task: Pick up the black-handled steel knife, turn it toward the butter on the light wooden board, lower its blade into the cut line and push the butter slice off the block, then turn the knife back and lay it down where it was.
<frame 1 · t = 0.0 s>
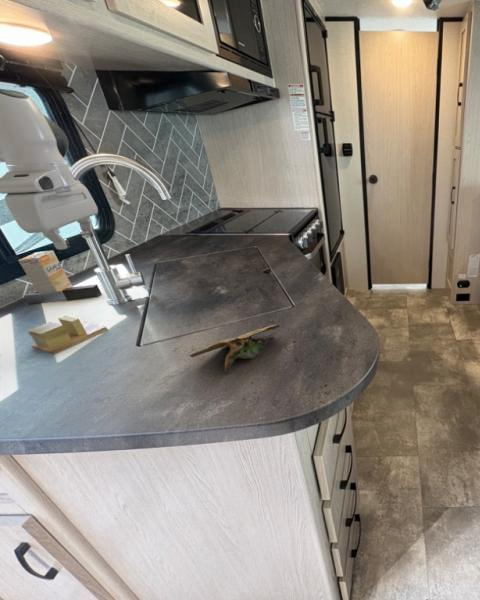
hand: (77, 242, 72), 22 cm above the countertop, tool pointing down, fingers open, 8 cm apart
knife: (69, 299, 97), on the countertop
butter board: (71, 338, 76), on the countertop
supplement box: (58, 294, 101), on the countertop
butter slice: (76, 332, 77), point 1 cm above the countertop, touching butter board
dried leafy seed pod: (240, 357, 69), on the countertop
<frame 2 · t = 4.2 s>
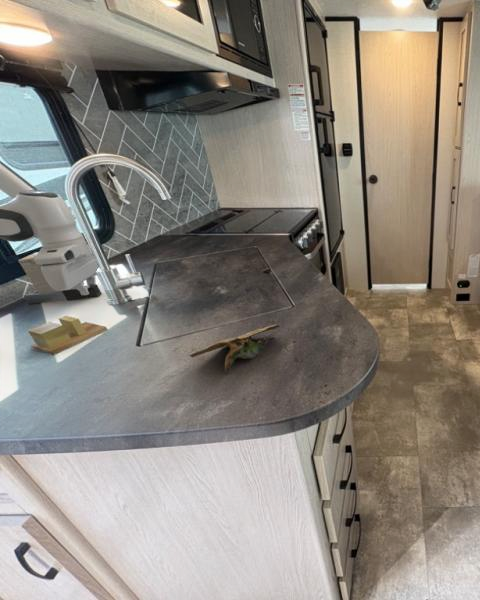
hand: (89, 291, 97), 2 cm above the countertop, tool pointing down, fingers closed on knife, 2 cm apart
knife: (69, 299, 97), on the countertop, touching gripper
everything else where it was.
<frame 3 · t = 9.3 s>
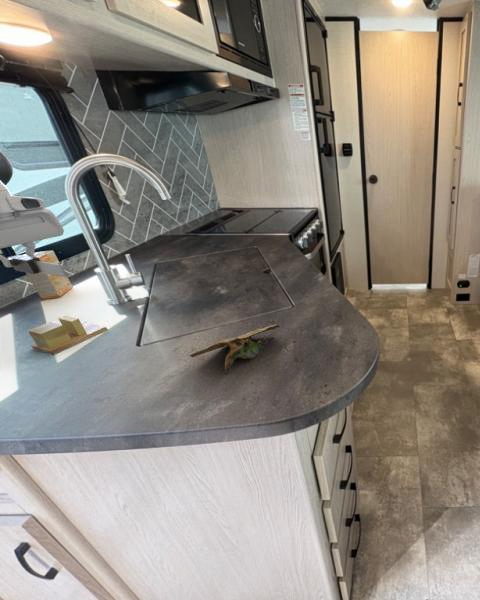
hand: (21, 263, 76), 17 cm above the countertop, tool pointing down, fingers closed on knife, 2 cm apart
knife: (40, 272, 75), point 15 cm above the countertop, touching gripper
everything else where it was.
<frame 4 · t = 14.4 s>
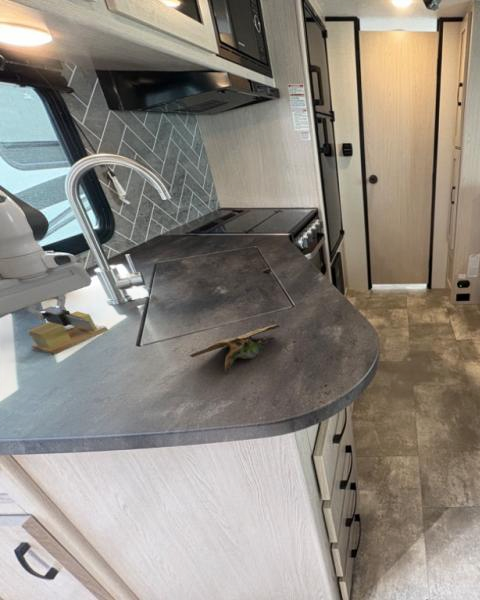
hand: (53, 315, 81), 3 cm above the countertop, tool pointing down, fingers closed on knife, 2 cm apart
knife: (70, 324, 79), point 2 cm above the countertop, touching butter slice, gripper
butter slice: (87, 328, 79), point 1 cm above the countertop, touching butter board, knife
everything else where it was.
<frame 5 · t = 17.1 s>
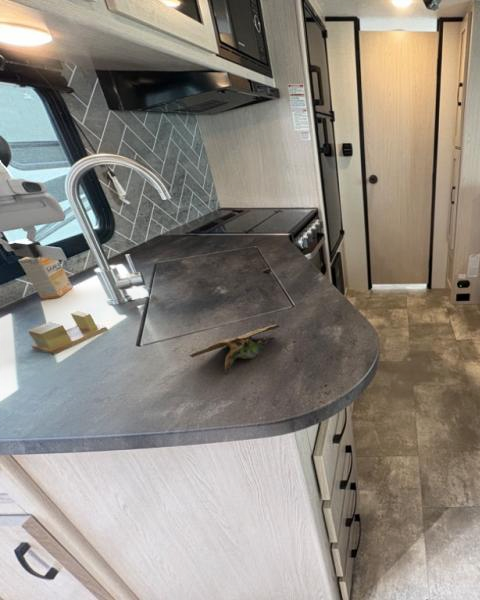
hand: (22, 248, 76), 20 cm above the countertop, tool pointing down, fingers closed on knife, 2 cm apart
knife: (41, 256, 74), point 19 cm above the countertop, touching gripper
butter slice: (87, 327, 79), point 1 cm above the countertop, touching butter board
everything else where it was.
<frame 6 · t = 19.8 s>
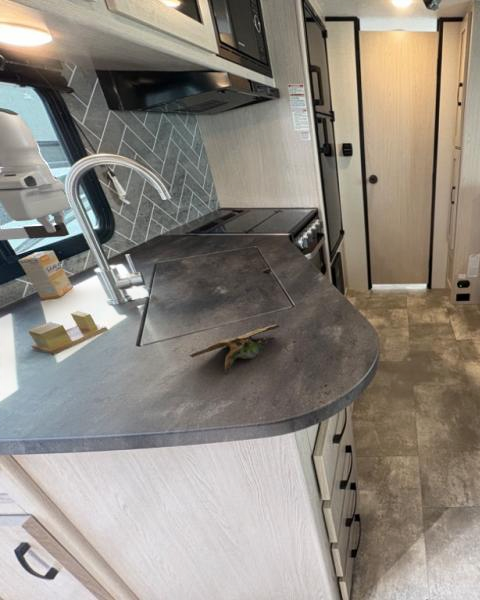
hand: (57, 230, 88), 21 cm above the countertop, tool pointing down, fingers closed on knife, 2 cm apart
knife: (32, 237, 88), point 19 cm above the countertop, touching gripper
everything else where it was.
when the fingers open (1 cm above the countertop, at t = 24.0 s): knife stays where it is, on the countertop.
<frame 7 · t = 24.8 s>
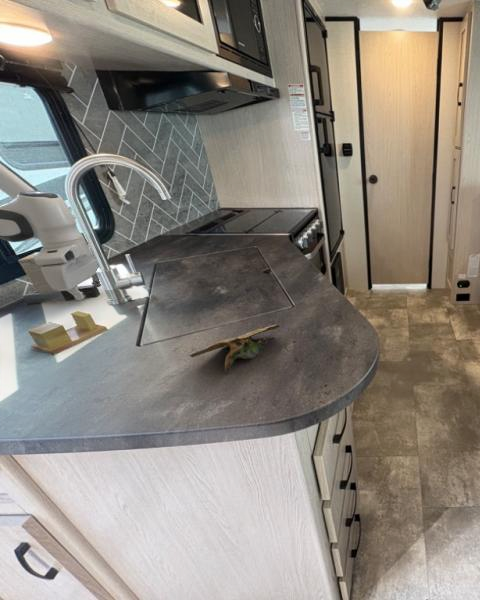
hand: (90, 292, 97), 1 cm above the countertop, tool pointing down, fingers open, 8 cm apart
knife: (68, 299, 96), on the countertop
everything else where it was.
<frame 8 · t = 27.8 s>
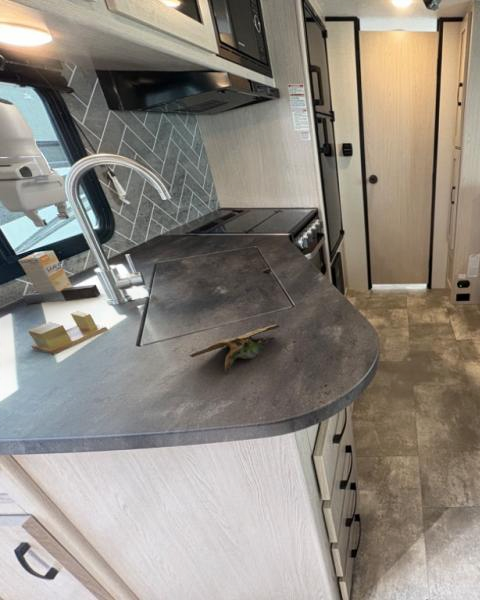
hand: (54, 222, 87), 23 cm above the countertop, tool pointing down, fingers open, 8 cm apart
nothing on the countertop moved.
at the end: butter slice 0.7 cm from the target spot on the butter board, point 1.0 cm above the butter board's base; butter slice tilted 0°; the gripper is holding nothing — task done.
